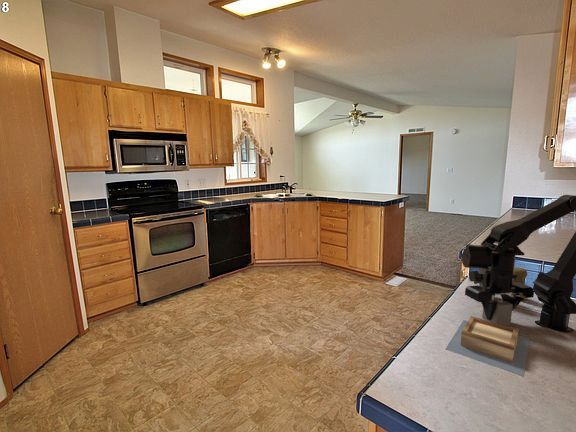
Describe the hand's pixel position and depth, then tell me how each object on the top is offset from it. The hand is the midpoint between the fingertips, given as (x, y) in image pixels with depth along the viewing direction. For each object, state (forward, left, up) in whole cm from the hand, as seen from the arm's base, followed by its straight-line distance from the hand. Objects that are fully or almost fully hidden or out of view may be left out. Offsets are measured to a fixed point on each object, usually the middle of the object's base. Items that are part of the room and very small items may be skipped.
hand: (496, 318), depth 93 cm
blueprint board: (+12, +10, -2) cm, 16 cm away
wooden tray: (+12, +10, -1) cm, 16 cm away
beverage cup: (-13, -17, -2) cm, 21 cm away
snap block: (0, 0, -2) cm, 2 cm away
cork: (-23, -15, -2) cm, 28 cm away
